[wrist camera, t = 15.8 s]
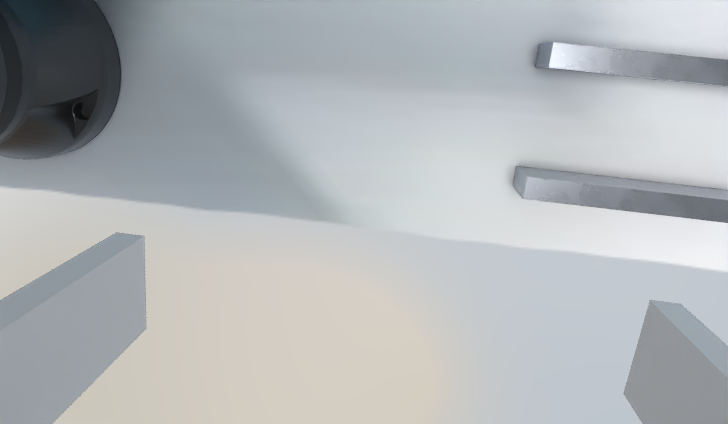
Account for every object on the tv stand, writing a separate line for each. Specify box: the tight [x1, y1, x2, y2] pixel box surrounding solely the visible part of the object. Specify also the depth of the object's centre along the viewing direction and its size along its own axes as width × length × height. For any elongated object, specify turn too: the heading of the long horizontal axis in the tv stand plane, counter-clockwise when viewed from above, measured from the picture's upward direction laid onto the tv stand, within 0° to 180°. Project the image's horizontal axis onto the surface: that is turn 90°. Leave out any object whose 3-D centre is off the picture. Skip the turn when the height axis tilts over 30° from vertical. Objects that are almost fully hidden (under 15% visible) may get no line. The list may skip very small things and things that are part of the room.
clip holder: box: [513, 42, 728, 223], centre depth 37 cm, size 16×11×4 cm
